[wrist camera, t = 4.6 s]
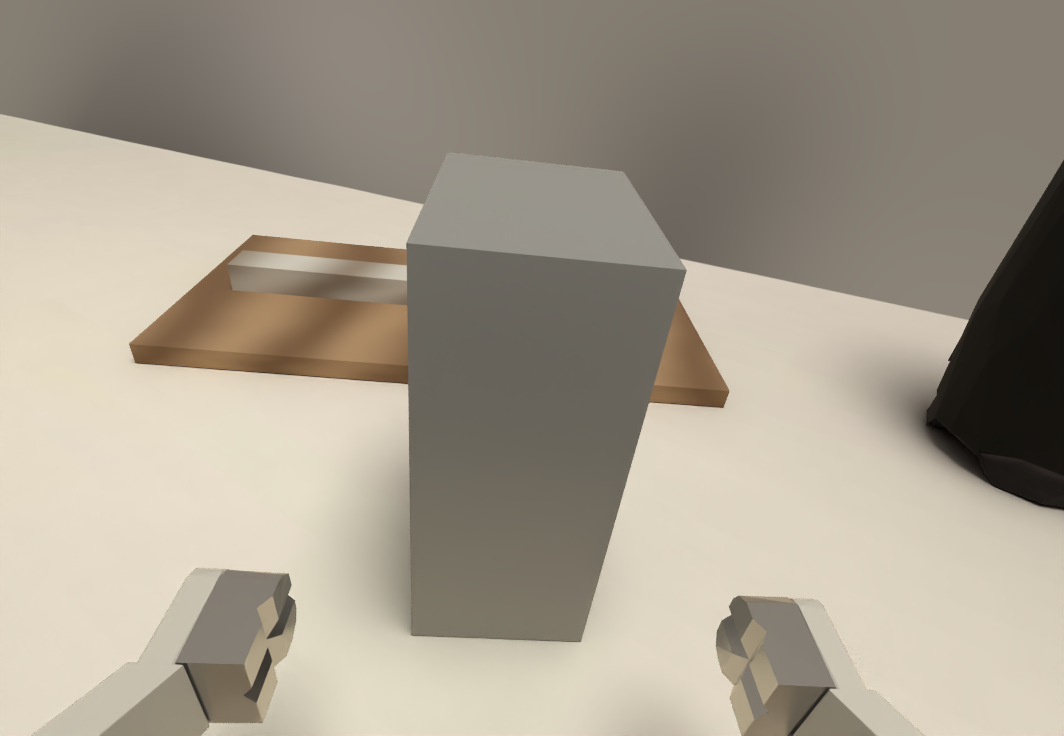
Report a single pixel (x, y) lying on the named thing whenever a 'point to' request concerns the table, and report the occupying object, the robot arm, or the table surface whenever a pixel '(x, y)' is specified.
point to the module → (526, 388)
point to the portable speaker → (1015, 364)
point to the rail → (343, 320)
